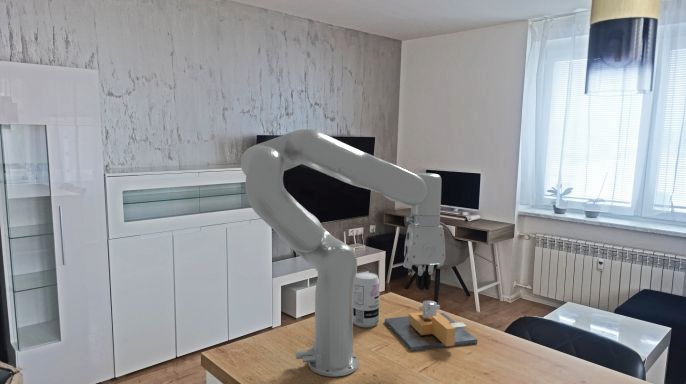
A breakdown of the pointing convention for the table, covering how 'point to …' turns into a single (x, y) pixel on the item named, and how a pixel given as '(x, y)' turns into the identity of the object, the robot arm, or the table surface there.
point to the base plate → (429, 340)
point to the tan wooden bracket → (434, 327)
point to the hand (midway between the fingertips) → (422, 288)
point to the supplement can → (366, 300)
